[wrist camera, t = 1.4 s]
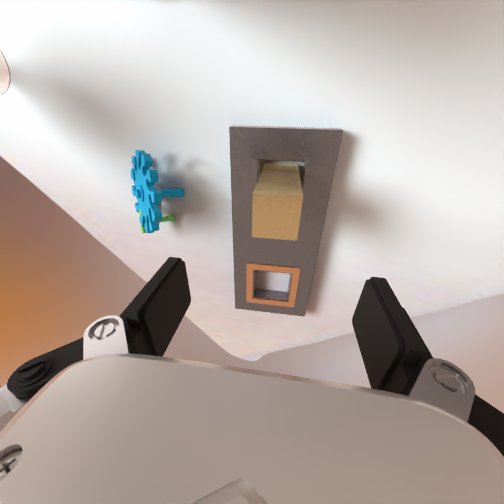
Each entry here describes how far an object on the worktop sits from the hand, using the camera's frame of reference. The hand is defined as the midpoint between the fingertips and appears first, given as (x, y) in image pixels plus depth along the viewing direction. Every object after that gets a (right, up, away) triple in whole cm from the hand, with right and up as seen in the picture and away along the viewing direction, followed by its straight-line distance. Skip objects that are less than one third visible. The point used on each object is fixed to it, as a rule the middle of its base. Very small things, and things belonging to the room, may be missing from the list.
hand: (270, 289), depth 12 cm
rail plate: (+3, +4, +21) cm, 22 cm away
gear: (-14, +11, +20) cm, 27 cm away
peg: (+3, +11, +17) cm, 21 cm away
